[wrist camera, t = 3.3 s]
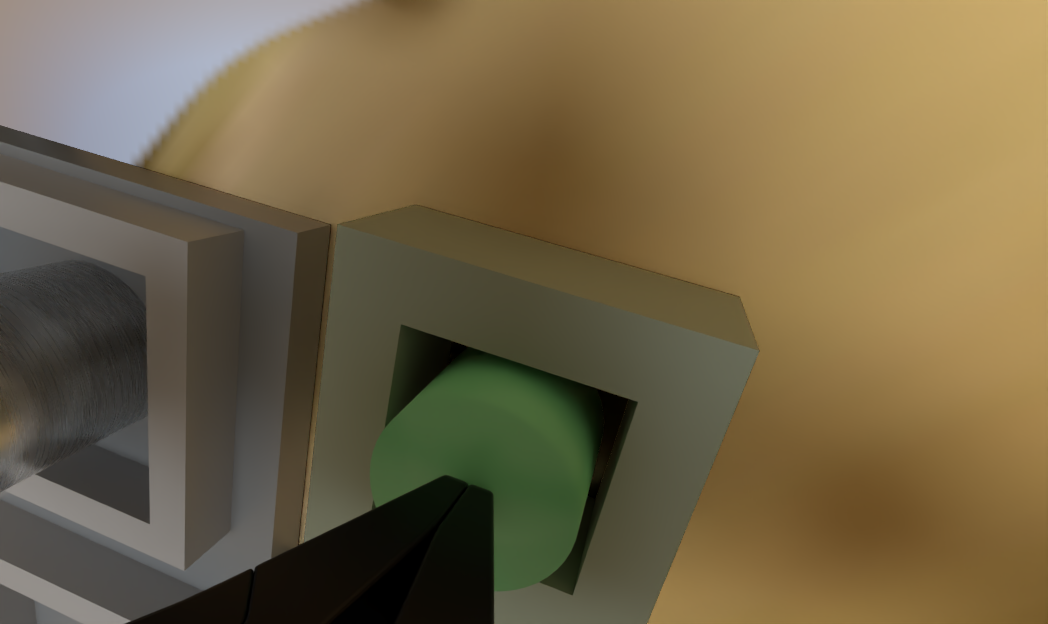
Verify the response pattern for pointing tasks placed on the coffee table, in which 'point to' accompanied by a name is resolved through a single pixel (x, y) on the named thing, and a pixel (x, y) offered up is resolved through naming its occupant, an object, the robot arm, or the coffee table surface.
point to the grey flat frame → (165, 388)
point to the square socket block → (546, 344)
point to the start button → (501, 454)
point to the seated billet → (66, 363)
